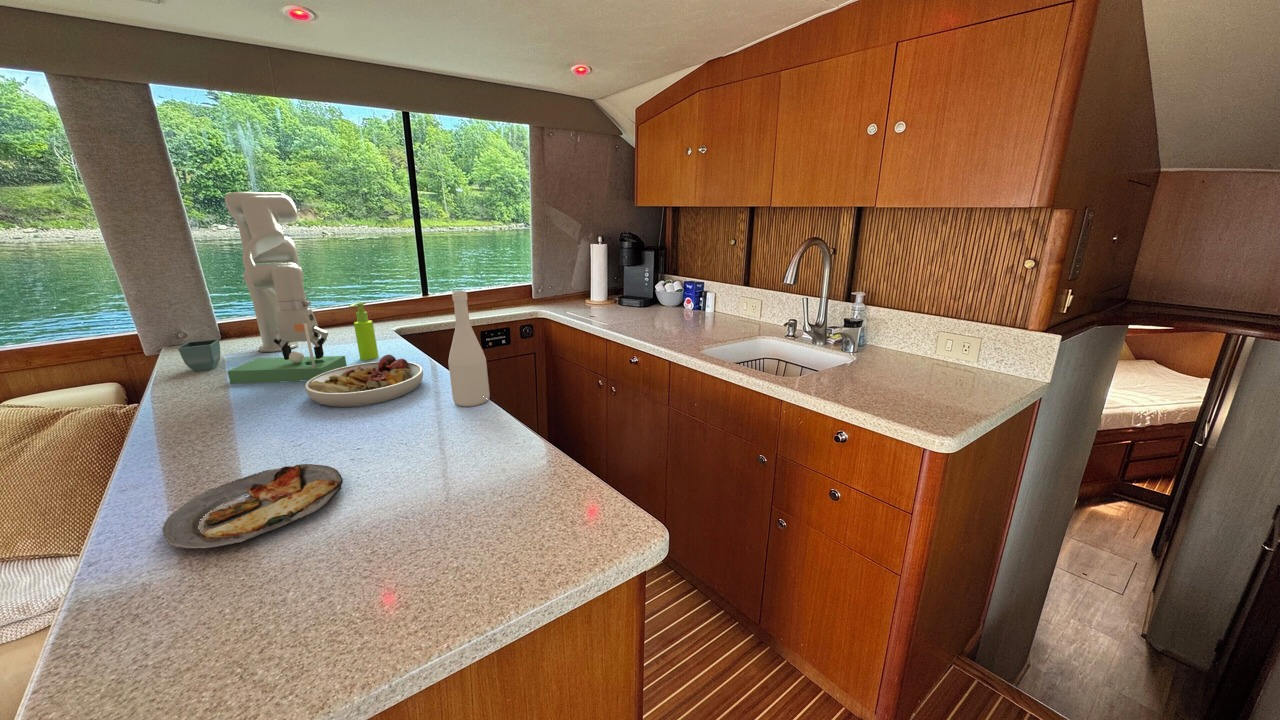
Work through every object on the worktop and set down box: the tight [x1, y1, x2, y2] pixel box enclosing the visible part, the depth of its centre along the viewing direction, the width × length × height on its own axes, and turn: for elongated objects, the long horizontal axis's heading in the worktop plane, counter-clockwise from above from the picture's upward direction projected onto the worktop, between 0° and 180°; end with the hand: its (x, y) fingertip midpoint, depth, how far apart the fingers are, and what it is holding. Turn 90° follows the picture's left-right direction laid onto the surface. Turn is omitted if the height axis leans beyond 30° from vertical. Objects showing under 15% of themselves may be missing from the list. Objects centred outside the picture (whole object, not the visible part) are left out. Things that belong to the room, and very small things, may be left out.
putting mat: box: [227, 324, 348, 384], centre depth 158 cm, size 14×28×18 cm, turn 93°
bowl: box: [304, 354, 424, 408], centre depth 144 cm, size 30×30×8 cm
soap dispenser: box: [348, 301, 379, 361], centre depth 175 cm, size 6×7×20 cm
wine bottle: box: [447, 290, 491, 408], centre depth 131 cm, size 10×10×30 cm
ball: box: [289, 350, 305, 363], centre depth 158 cm, size 4×4×4 cm
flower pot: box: [177, 339, 221, 372], centre depth 167 cm, size 9×9×9 cm
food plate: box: [161, 463, 344, 549], centre depth 86 cm, size 25×23×4 cm
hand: (304, 358), depth 159 cm, fingers open, 9 cm apart
